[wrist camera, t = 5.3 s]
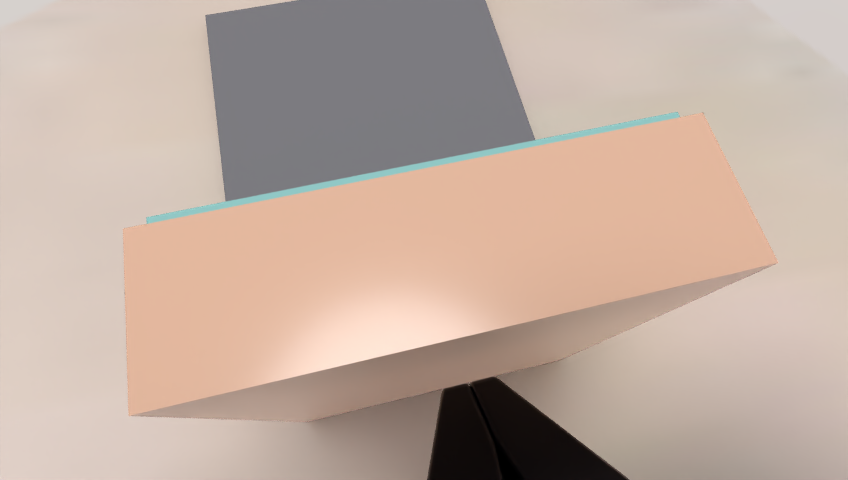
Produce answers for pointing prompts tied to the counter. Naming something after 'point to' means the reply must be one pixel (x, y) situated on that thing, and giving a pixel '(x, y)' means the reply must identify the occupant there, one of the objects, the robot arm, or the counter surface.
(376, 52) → the mat
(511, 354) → the tile
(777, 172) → the counter surface
